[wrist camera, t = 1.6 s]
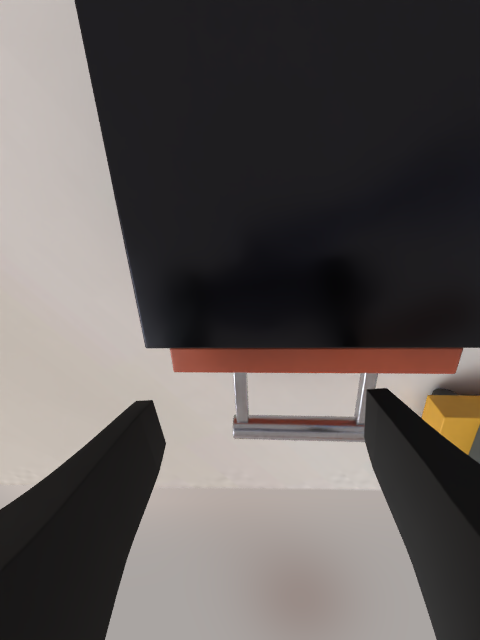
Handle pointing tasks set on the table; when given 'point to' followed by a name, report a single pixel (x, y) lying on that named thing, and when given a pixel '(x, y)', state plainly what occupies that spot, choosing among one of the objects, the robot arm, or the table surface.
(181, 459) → the table surface
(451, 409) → the yellow and grey block
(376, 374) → the cabinet drawer
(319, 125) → the drawer cabinet
